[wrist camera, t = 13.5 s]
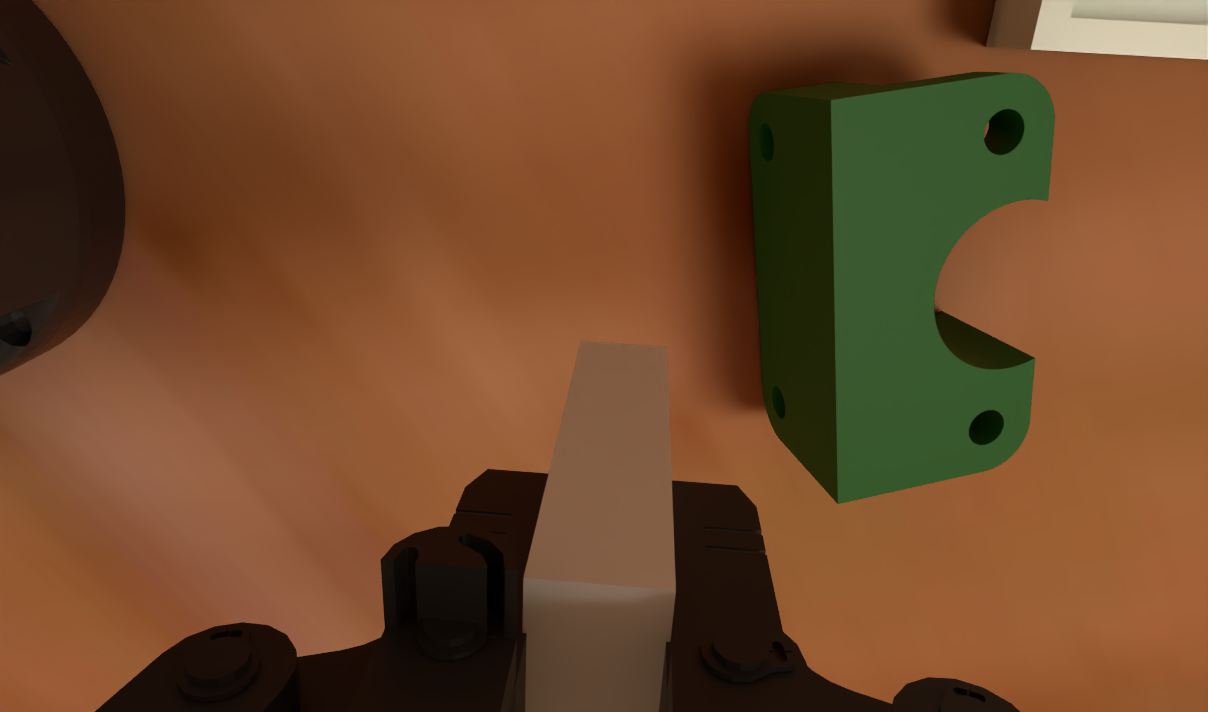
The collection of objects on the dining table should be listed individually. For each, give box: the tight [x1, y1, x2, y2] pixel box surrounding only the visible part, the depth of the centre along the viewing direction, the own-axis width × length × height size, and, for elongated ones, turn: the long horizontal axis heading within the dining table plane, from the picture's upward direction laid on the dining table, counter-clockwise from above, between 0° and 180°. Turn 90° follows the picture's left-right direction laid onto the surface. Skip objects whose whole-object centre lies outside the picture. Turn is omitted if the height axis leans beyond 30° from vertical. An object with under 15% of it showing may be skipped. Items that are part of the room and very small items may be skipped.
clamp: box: [749, 72, 1055, 504], centre depth 24 cm, size 12×6×9 cm, turn 1°
